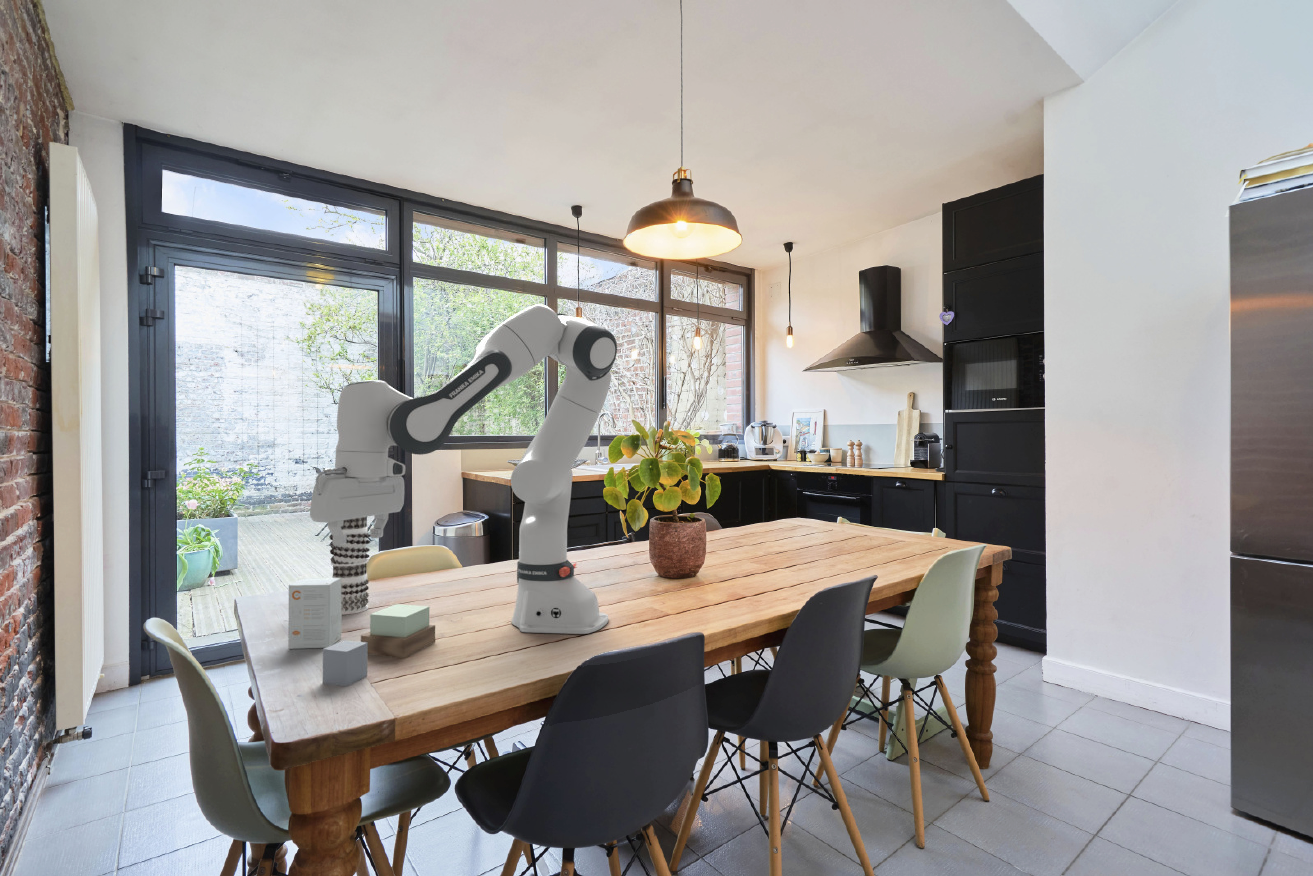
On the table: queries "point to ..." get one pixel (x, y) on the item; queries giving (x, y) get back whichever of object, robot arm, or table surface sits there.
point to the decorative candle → (352, 565)
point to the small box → (314, 613)
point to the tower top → (399, 620)
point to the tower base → (399, 643)
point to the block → (345, 662)
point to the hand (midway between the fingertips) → (358, 541)
